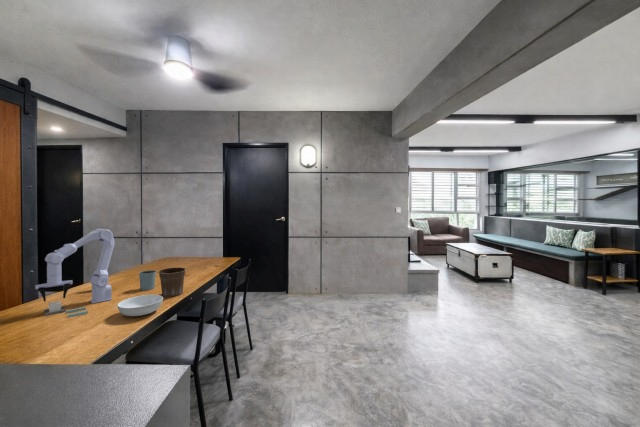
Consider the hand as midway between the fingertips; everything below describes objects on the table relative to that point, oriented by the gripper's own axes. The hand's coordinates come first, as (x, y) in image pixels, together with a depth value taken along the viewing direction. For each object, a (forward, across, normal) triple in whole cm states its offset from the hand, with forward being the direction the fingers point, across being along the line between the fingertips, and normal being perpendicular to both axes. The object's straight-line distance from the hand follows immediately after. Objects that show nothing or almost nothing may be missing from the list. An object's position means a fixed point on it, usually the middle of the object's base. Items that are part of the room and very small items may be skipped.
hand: (54, 299), depth 151 cm
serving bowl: (+7, -32, +35) cm, 48 cm away
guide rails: (+7, -4, +6) cm, 10 cm away
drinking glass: (+7, -48, -12) cm, 50 cm away
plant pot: (+7, -56, +13) cm, 58 cm away
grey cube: (+7, 0, 0) cm, 7 cm away
